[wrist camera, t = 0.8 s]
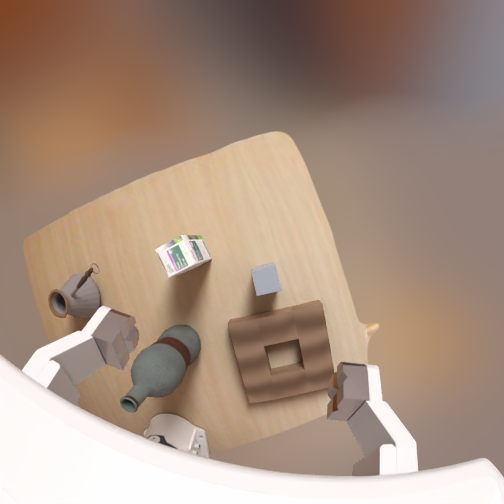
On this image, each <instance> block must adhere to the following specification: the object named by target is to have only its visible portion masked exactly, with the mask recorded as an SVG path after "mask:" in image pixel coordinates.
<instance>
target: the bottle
mask: <svg viewBox="0 0 504 504" xmlns="http://www.w3.org/2000/svg"><path fill="white" fill-rule="evenodd" d="M200 345H201V342H200V338H199V335H198V334H197V332H196V331H195V330H194V329H193V328H191V327H189V326H186V325H176V326H173V327H171V328H169V329H167V330H165V331H164V332H163V334H162V335H161V336H160V338H159V339H158V341H157V342H155V343H154V344H152V345H151V346H149V347H147V348H145V349H144V350H142V351H141V352H140V354H139V355H138V356H137V357H136V359H135V360H134V362H133V365H132V368H131V377H132V381H133V385H134V386H133V388H132V389H131V390H130V391H129V392H128V393H127V394H126V396H125V397H123V398H122V399H121V400H120V403H121V406H122V408H123V409H124V410H126V411H128V412H136V411H137V409H138V407H139V406H140V405H141V403H142V402H143V401H144V400H145V399H146V397H164V396H166V395H169V394H170V393H172V392H173V391H174V390H175V389H176V388H177V387H178V386H179V385H180V384H181V382H182V380H183V377H184V374H185V372H186V370H187V367H188V366H189V365H190V364H191V363H192V362H193V361H194V360H195V359H196V358H197V356H198V354H199V351H200Z"/></svg>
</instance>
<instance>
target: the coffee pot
mask: <svg viewBox="0 0 504 504" xmlns="http://www.w3.org/2000/svg"><path fill="white" fill-rule="evenodd" d="M92 264H95V263H92ZM92 264H91V265H92ZM95 265H96V266H97V264H95ZM97 267H98V266H97ZM98 269H99V267H98ZM92 272H94V271H93V268H92V267H91V268H90V269H89V270H88V271H87V272H86V273H85V274H75V275H74V276H72V277H71V278H70V279H69V280H68V281H67V282H66V284H65V285H64V286H63V287H62V288H61V290H57V289H55V290H53V291H51V293H50V295H49V299H48V301H49V307H50V309H51V311H52V313H53V314H54V315H55V316H57V317H60V318H65V317H66V315H67V314H69V315H73V316H76V317H79V318H83V319H87V318H91V317H93V315H94V314H95V313H96V311H97V310H98V309H99V306H100V293H99V289H98V287H97V285H96V283H95V282H94V281H93V280H92V279H91V278H90V276H91V273H92ZM94 273H95V272H94ZM98 273H99V272H98ZM98 273H95V274H98Z"/></svg>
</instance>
